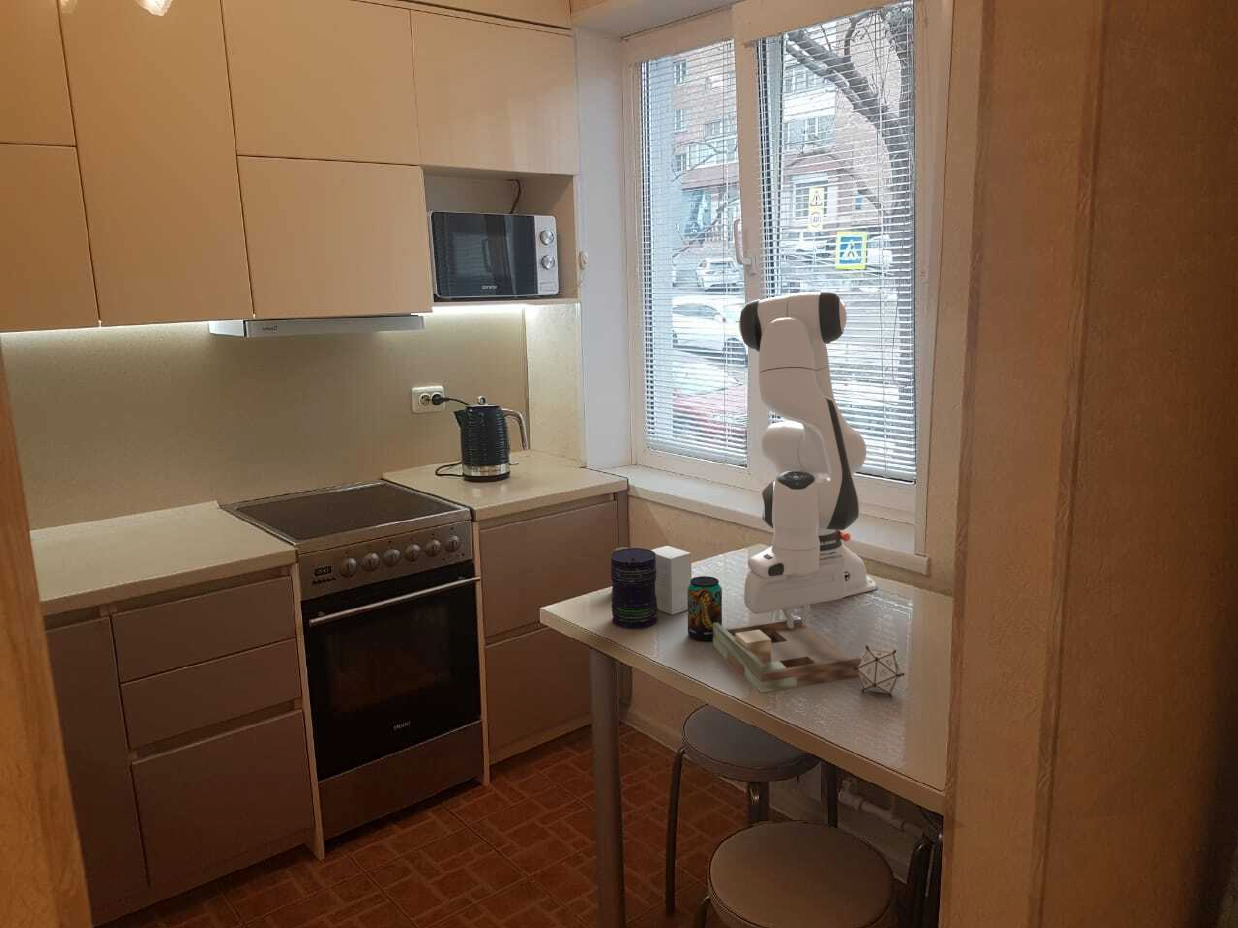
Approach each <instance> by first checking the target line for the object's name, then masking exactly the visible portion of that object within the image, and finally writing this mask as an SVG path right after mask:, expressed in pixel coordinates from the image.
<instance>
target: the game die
mask: <svg viewBox="0 0 1238 928" xmlns="http://www.w3.org/2000/svg"><path fill="white" fill-rule="evenodd" d="M865 650H866V651H865V653H864V655H863V657H862V658H861V659H860V663H859V665H858V666H857V668H856V667H853V668H852V669H853V670H857V672H858V675H859V676H858V678H859V680H860V683H861V685H862V688H863V689H861V691H860V693H861V694H863V693H865V692H866V691H869V692H875V693H882V694H887V695H888V696H889V698H890V699H893V695H892V692H893V689H894V688H895V687H896V685H897V682H898V680H899V679H900V678H901V677H904V676H905V675H906V673H904V672H902V671H901V670H900V668H899V667H900V666H899V665H898V662H897V659H896V655H895V654H896V653H897V649H893V650H892V652H888V651H881V650H877V649H875V650H874V649H870V648H869V646H868V645H867V644H866V645H865Z"/></svg>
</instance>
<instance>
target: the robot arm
mask: <svg viewBox="0 0 1238 928" xmlns="http://www.w3.org/2000/svg"><path fill="white" fill-rule="evenodd" d="M847 318H848V315H847V309H846V306H845V304H844V302H843V300H842V297H841V296H840V295H839V294H838V293H837V292H834V291H827V290H825V291H824V290H821V291H820V292H797V293H796V292H795V293H789V294H784V295H780V296H779V295H778V296H773V297H768V298H765V299H760V298H758V299H755V300H752V301H749V302H747V303H745V305H744V306H743V307H742V308H741V309H740V316H739V318H738V319H739V320H738V328H739V334H740V336H741V338H742V339H741V340H742V341H743V343H744V344H745V345H746V346H747V347H748V348H750V349H752V350H756V352H759V354H758V355H759V356H758V383H759V393H760V397H761V398H760V399H761V400H762V402H763V404H764V406H765V407H766V408H767V409H768V410H770V412H772V413H774V414H775V415H776V416H779V417H781V418H783V419H785V420H788V421H781V422H774V423H772V424H770V425H769V426H768V427H767V428H766V430H764V433H763V436H762V439H761V450H762V454H763V456H764V458H765V459H766V460H767V462H769V463H770V464H771V465H772V466H773V468H774V469H775V471H776V473H777V476H776V477H775V479H774V480H773V481H772V482H770V483H769V484H768V485H767V486H766V487H765V488H764V489H763V491H761V494H762V500H763V510H762V511H763V512H762V520H763V522H765V524H767V525H768V526H769V527H770V528H771V529H773V537H772V540H771V542H772V543H771V546H769V547H767V548H766V549H764V550H763V551H761V552H758V553H757V554H755V555H753V556H751V557H749V558H748V560H747V566H748V569H750V571H749V572H747V575H746V578H745V583H744V590H743V591H744V593H743V594H744V595H743V596H744V599H743V600H744V603H743V604H744V605H745V607H746V608H747V609H748V610H749V611H750V612H752V613H753V614H754V615H759V614H763V613H770V612H775V611H780V610H781V611H782V613H783V615H784V616H785V618H786V619H787V626H788V627H789V628H790V629H791V628H796V627H802V626H806V618H807V616H808V614H809V612H810V611H811V605H813V604H819V603H825V602H830V601H836V600H842V599H843V598H846V597H849V596H854V595H857V594H858V595H859V594H862V593H866V592H871V591H875V590H877V583H876V581H875V580H874V579H873V578H872V577H870V576H868V575H867V570H866V565H865V562H864V561H863V559H862V558H861V557H860V556H859V555H857V554H856V553H854V552H853V551H852V550H851V549H849V548H848V547H846V546H845V545H844V544H843V543H842V541H843V542H846V543H847V542H849V541H850V540H851V538H852V537H851V534H850V533H849V532H846V531H844V530H846V529H848V528H849V527H850V526H851V525H852V524H853V523H855V522H856V521H857V519H858V518H859V513H860V499H859V495H858V491H857V488H856V487H855V483H854V480H853V477H852V475H854V474H856V473H857V472H859V470H861V468H862V467H863V465H864V463H865V461H866V457H867V446H866V441H865V440H864V438H863V436H862V435H861V434H860V433H859V432H857V431H856V430H855V429H854V428H853V427H852V426H851V425H850V424H849V423H848V421H847V420H846V419H845V417H844V416H843V414H842V412H841V411H840V409H839V407H838V404H837V402H836V399H835V397H834V392H833V387H832V378H831V370H830V361H829V354H828V349H827V345H829V344H831V343H832V342H834V341H837V340H838V339H839V338H841V337H842V335H844V330H845V328H846V324H847ZM819 474H820V475H821V474H822V475H826V476H827V477H825V478H823V479H822V478H821V477H820V476H819ZM798 607H799V611H798V613H797V615H792V613H794V608H798Z"/></svg>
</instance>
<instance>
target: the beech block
mask: <svg viewBox="0 0 1238 928" xmlns="http://www.w3.org/2000/svg"><path fill="white" fill-rule="evenodd" d="M735 638H736V639H737V640H738V641H739V642H740V643H741V644H743V645H744V646H745V647H746V648H747V649H748V650H749V651H750V652H752V653H753V654H754V655H755V656H756V657H757V658H758V659H759V660H760V661H762V660H768V659H771V639H770V638H769V637H768V636H767V635H765V634H764V633H763V632H762V631H760V630H753V631H746V632H740V633H735Z"/></svg>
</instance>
